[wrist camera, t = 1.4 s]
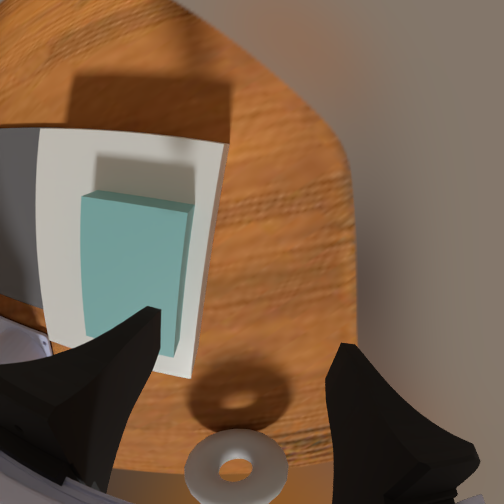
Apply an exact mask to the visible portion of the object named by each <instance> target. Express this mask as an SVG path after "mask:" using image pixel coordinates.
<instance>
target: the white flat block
mask: <svg viewBox="0 0 504 504" xmlns="http://www.w3.org/2000/svg"><path fill="white" fill-rule="evenodd" d="M228 150H229V144H227V143H221V142H214V141H208V140H201V139H194V138H186V137H178V136H170V135H161V134H152V133H142V132H131V131H118V130H103V129H84V128H40V134H39V144H38V155H37V170H36V242H37V257H38V269H39V279H40V287H41V295H42V302H43V309H44V315H45V321H46V326H47V332H48V337H49V340H50V341H53V342H56V343H58V344H61V345H64V346H67V347H70V348H75V347H77V346H80V345H82V344H84V343H86V342H88V341H91V340H92V339H94V338H92V337H89V336H86V330H85V321H84V310H83V298H82V283H81V258H80V217H81V196H83V195H86V194H88V193H91V192H94V191H96V190H102V191H109V192H116V193H123V194H130V195H136V196H143V197H150V198H156V199H162V200H169V201H175V202H181V203H187V204H193V205H195V209H194V216H193V223H192V230H191V238H190V246H189V254H188V262H187V270H186V279H185V289H184V298H183V309H182V319H181V331H180V340H179V343H178V346H177V349H176V352H175V355H174V358H172V357H168V356H163V355H158V357H157V360H156V363H155V365H154V368H153V370H152V371H156V372H160V373H164V374H169V375H174V376H178V377H183V378H188V379H191V375H192V371H193V367H194V363H195V359H196V354H197V350H198V345H199V337H200V329H201V322H202V314H203V307H204V299H205V292H206V285H207V278H208V271H209V264H210V257H211V251H212V244H213V238H214V231H215V225H216V219H217V213H218V207H219V201H220V195H221V189H222V183H223V178H224V172H225V166H226V161H227V155H228Z"/></svg>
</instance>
